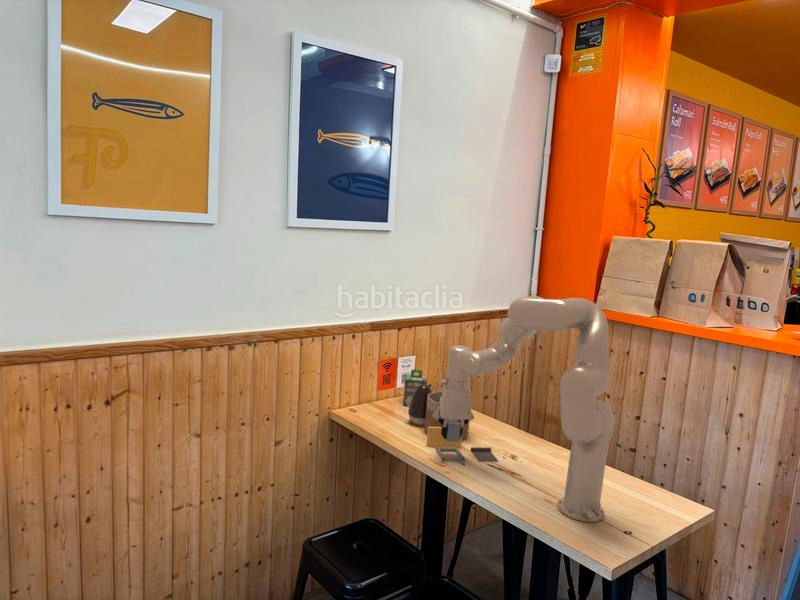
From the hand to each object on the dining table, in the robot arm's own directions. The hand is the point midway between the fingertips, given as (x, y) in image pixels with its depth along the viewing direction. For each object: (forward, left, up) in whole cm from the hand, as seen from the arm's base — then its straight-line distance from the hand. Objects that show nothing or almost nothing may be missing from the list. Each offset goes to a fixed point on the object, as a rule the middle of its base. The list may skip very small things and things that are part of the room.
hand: (451, 437), depth 191 cm
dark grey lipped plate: (0, -12, -7) cm, 14 cm away
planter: (+20, -4, -7) cm, 21 cm away
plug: (0, 0, -1) cm, 1 cm away
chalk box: (+54, +1, -7) cm, 54 cm away
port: (+2, 0, -7) cm, 7 cm away
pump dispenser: (+31, +3, -7) cm, 32 cm away
